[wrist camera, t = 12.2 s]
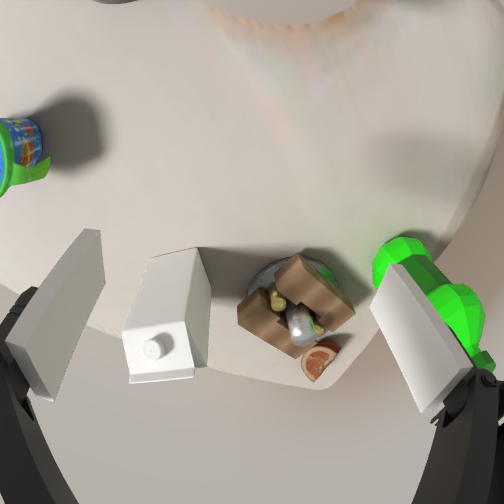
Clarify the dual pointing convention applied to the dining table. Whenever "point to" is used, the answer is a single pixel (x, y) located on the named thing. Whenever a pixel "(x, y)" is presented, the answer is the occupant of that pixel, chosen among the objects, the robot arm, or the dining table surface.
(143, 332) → the milk carton
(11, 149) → the snack cup
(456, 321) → the plastic bottle
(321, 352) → the fruit slice
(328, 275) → the post base
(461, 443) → the robot arm
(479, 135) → the dining table surface
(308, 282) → the flange block
